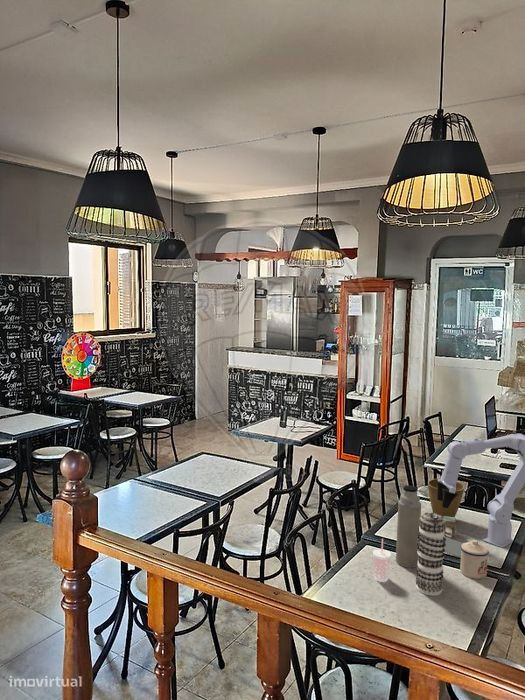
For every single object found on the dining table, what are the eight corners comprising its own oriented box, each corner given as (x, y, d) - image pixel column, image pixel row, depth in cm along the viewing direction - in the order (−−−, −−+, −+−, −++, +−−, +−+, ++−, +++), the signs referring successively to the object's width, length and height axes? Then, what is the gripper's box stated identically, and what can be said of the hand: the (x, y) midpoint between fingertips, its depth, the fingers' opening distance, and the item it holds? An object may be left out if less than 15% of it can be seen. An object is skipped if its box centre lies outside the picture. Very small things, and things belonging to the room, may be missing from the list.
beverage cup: (379, 584, 178) (381, 544, 177) (368, 576, 183) (369, 537, 182) (393, 580, 181) (395, 540, 180) (382, 572, 186) (383, 533, 185)
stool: (442, 530, 222) (442, 515, 221) (454, 532, 220) (455, 517, 220) (442, 535, 217) (442, 520, 216) (455, 537, 215) (456, 522, 215)
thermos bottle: (398, 555, 199) (401, 482, 197) (420, 560, 196) (423, 485, 194) (393, 564, 192) (397, 488, 190) (416, 569, 189) (420, 492, 186)
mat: (445, 537, 215) (445, 536, 215) (474, 548, 206) (474, 547, 206) (429, 546, 207) (429, 545, 207) (458, 557, 198) (458, 556, 198)
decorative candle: (411, 580, 181) (414, 509, 179) (438, 581, 181) (442, 510, 178) (418, 595, 172) (421, 520, 170) (447, 596, 172) (451, 521, 169)
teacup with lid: (482, 582, 181) (484, 549, 180) (455, 573, 187) (457, 541, 186) (493, 569, 190) (495, 537, 189) (467, 561, 196) (469, 530, 195)
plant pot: (419, 519, 234) (421, 483, 232) (437, 510, 244) (438, 476, 242) (451, 530, 223) (453, 492, 221) (468, 520, 233) (470, 485, 231)
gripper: (436, 463, 219) (428, 494, 220) (446, 474, 204) (437, 508, 206) (453, 467, 219) (445, 498, 220) (464, 479, 204) (455, 512, 206)
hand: (442, 503), depth 213 cm, fingers open, 7 cm apart
